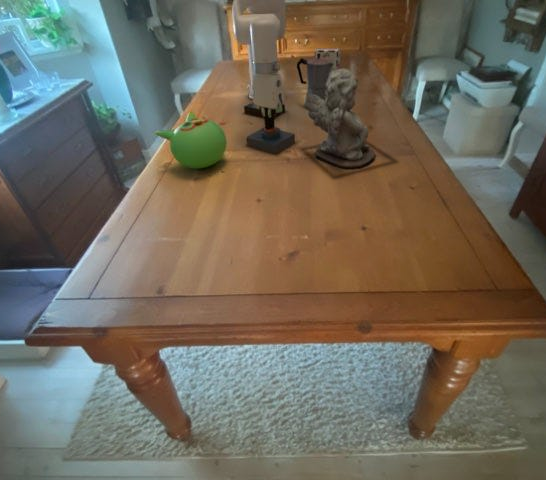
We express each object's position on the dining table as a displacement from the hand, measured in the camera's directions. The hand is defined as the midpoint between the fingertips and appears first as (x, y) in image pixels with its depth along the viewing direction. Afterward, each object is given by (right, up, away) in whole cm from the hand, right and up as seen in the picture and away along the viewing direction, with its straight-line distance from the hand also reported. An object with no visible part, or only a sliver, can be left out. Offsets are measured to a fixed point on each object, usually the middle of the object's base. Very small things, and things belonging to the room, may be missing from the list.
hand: (269, 127), depth 118 cm
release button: (0, -1, +1) cm, 2 cm away
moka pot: (+18, +22, +32) cm, 42 cm away
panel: (-3, +18, +28) cm, 33 cm away
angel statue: (+26, -11, -5) cm, 28 cm away
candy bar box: (+25, +39, +50) cm, 69 cm away
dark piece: (0, -4, +4) cm, 6 cm away
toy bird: (-22, -14, -5) cm, 27 cm away
